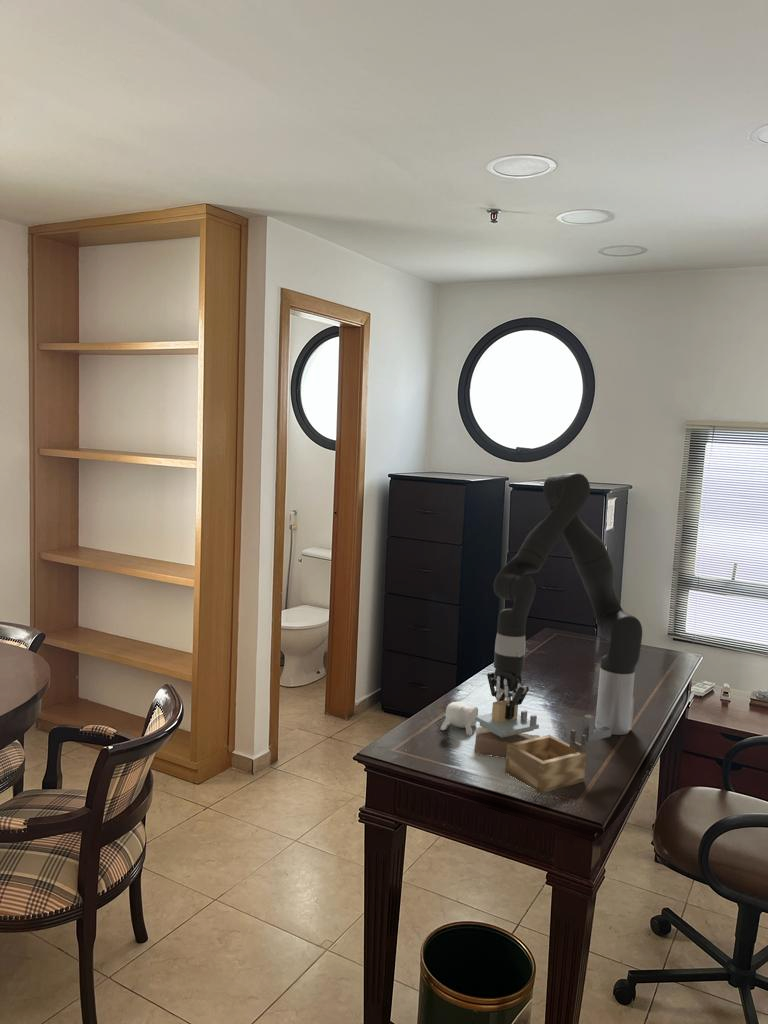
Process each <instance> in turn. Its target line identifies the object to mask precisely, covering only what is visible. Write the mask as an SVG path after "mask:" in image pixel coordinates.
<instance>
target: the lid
mask: <svg viewBox="0 0 768 1024" xmlns="http://www.w3.org/2000/svg"><path fill="white" fill-rule="evenodd" d="M511 700H512V698H511ZM506 705H507V704H506V699H505V700H502V701H497V700H496V701H493V702H492V709H491V712H490V713H486V714H480V715H478V716H476V718H475V720H476V721H477V723H479V727H483V728H485V729H487V730H489V731H491V732H492V733H494V734H496V735H498V736H500V737H502V738H503V737H507V736H512V735H516V734H521V733H522V734H524V733H525V734H526V733H529V732H533V731H534V730H538V729H539V727H540V724H539V723H537V720H538V718H537V715H536V714H533V715H532V714H531V715H530V719H528V711H527V710H521V711H520V714H518V713H519V712H518V711H519V705H515V710H514V717H513V719H510V720H507V719H505V712H506Z"/></svg>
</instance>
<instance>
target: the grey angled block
mask: <svg viewBox="0 0 768 1024" xmlns="http://www.w3.org/2000/svg"><path fill="white" fill-rule="evenodd" d="M583 717H584V718H583V725H582V735H586V736H587V738H586V743H587V742H589V743H590V742H594V741H597V740H602V739H606V738H610V737H612V734H611V730H612V729H610V728H608V727H602V728H597V729H596V727H595V721H596V716H594V715H592V714H586V715H583Z"/></svg>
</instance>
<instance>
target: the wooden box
mask: <svg viewBox="0 0 768 1024" xmlns="http://www.w3.org/2000/svg"><path fill="white" fill-rule="evenodd" d="M576 733H577V731H576V730H575V729H570V738H569V743H567V742H565V741H563V740H561V739H559V738H557V737H555V736H554V735H551V734H547V735H542V736H540V737H538V738H533V739H529V740H525V741H520V742H516V743H512V744H507V753H506V758H505V766H504V767H505V769H504V773H505V774H506V773H507V774H506V775H508V774H509V775H508V776H510V777H511V776H512V777H511V778H513V777H514V778H513V779H515V778H516V779H517V780H516V779H515V780H516V781H518V780H519V781H518V782H520V781H521V782H520V783H522V782H523V783H525V784H526V785H525V784H524V785H525V786H527V785H528V786H530V787H531V788H530V787H529V788H530V789H532V788H533V789H535V790H536V791H535V790H534V791H535V792H537V791H538V792H537V793H539V794H540V793H542V794H545V793H548V792H551V791H552V792H553V791H555V790H559V789H563V788H565V787H566V788H567V787H569V786H573V785H576V784H579V783H584V782H585V778H586V777H585V775H586V774H585V773H586V763H587V752H586V749H587V748H586V747H587V741H586V738H587V736H586V735H583V734H581V741H580V743H579V742H577V741H576ZM523 783H522V784H523ZM528 786H527V787H528ZM533 789H532V790H533Z"/></svg>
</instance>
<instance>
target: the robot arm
mask: <svg viewBox="0 0 768 1024" xmlns="http://www.w3.org/2000/svg"><path fill="white" fill-rule="evenodd" d="M542 491H543V496H544V499H545V500H544V501H545V502H546V504H547V506H548V509H549V510H550V512H549V513H548V514H547V516H545V517H544V519H542V520H541V521H540V522H539V523H538V524H537V525H535V527H534V528H533V529H531V531H530V532H529V533H528V534H527V535H526V538H525V539H524V540H523V542H522V544H521V545H520V548H519V549H518V551H517V553H516V554H515V555H514V556H513V557H512V558H511V559H510V561H508V562H507V563H506V564H505V565H504V566H503V567H502V568H501V570H500V571H498V573H497V575H495V579H494V581H493V592H494V594H495V595H496V596H497V597H498V598H500V599H503V600H507V601H512V602H514V603H513V605H512V607H511V608H504V609H501V610H499V613H498V618H497V627H496V629H497V630H496V631H497V632H496V637H495V640H494V641H495V643H494V644H495V645H494V654H493V655H494V658H493V667H494V671H493V672H489V673H487V674H486V676H487V682H488V685H489V688H490V693H491V694H490V695H491V696H492V697H495V700H496V702H497V701H502V700H506V704H507V705H506V712H505V719H507V720H510V719H513V717H514V710H515V705H518V706H520V705H522V704H523V701H524V700H525V698H526V696H527V694H528V693H529V691H530V688H529V686H528V685H524V684H523V682H522V681H523V680H522V672H523V671H524V669H525V668H524V667H525V656H526V629H527V618H528V616H529V612H530V610H531V607H532V604H533V601H534V598H535V596H536V591H537V587H536V583H535V580H534V579H533V578H532V576H529V575H528V574H535V573H538V572H539V571H540V570H541V569H542V567H543V565H544V563H545V562H546V560H547V558H548V557H549V554H550V553H551V551H552V549H553V547H554V545H555V544H556V542H557V540H558V539H559V538H560V537H561V535H563V538H564V541H565V543H566V545H567V548H568V550H569V552H570V554H571V557H572V560H573V563H574V566H575V568H576V570H577V573H578V576H579V577H580V579H581V581H582V584H583V586H584V589H585V591H586V594H587V595H588V598H589V601H590V604H591V606H592V609H593V613H594V617H595V621H596V624H597V627H598V630H599V632H600V634H601V635H602V637H603V638H604V639H605V640H606V641H608V642H609V647H608V648H609V649H608V653H607V654H605V655H603V656H602V657H601V658H600V664H599V665H600V667H599V679H598V690H597V699H596V701H597V702H596V711H595V713H596V714H595V727H594V728H595V729H597V728H602V727H608V728H610V729H612V730H611V735H615V736H622V735H627V734H629V733H630V731H631V730H632V728H633V727H632V726H633V717H634V716H633V715H634V704H635V697H634V696H633V695H634V684H635V683H634V682H635V673H636V672H635V671H636V666H637V665H638V662H639V661H640V660H639V659H640V655H641V647H642V641H643V627H642V624H641V622H640V620H639V619H638V618H637V617H636V616H634V615H632V614H630V613H628V612H625V611H624V610H623V607H622V606H621V604H620V603H619V599H618V598H617V595H616V592H615V589H614V566H613V563H612V561H611V557H610V555H609V552H608V550H607V547H606V546H605V544H604V543H603V541H602V540H601V538H600V537H599V536H598V535H597V534H596V533H595V532H594V531H593V530H592V528H591V529H590V527H589V526H587V524H586V523H585V522H584V521H583V520H582V519H581V517H580V516H579V512H580V510H581V509H582V508H583V507H584V505H585V504H586V502H587V501H588V499H589V497H590V494H591V485H590V482H589V480H588V479H587V477H586V476H585V475H584V474H582V473H580V472H569V473H561V474H555V475H550V476H548V477H547V478H546V479H545V481H544V483H543V490H542ZM511 699H512V700H511Z"/></svg>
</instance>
